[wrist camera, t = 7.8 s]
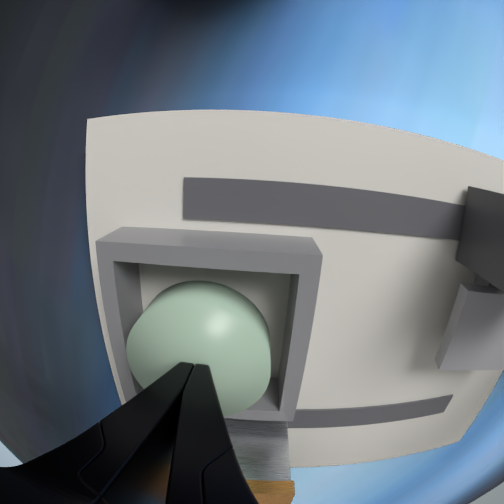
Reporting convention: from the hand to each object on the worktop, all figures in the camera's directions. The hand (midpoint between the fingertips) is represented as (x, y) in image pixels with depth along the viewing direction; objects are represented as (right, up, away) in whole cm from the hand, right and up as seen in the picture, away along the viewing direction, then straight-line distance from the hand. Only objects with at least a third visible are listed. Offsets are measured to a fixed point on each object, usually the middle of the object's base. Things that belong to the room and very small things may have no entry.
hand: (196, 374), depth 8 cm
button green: (0, +1, +2) cm, 2 cm away
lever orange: (+2, -4, +5) cm, 7 cm away
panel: (+6, 0, +5) cm, 8 cm away
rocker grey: (+12, 0, +1) cm, 12 cm away
